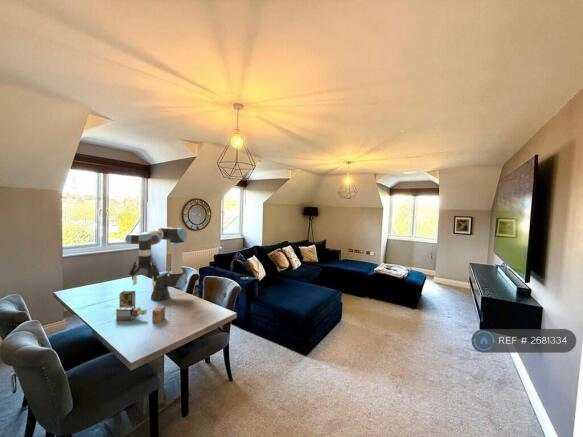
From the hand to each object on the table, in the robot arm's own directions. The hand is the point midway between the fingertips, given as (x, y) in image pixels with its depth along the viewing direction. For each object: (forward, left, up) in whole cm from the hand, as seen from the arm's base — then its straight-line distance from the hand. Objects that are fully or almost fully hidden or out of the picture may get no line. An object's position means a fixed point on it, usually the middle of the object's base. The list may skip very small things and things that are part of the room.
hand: (144, 285), depth 171 cm
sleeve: (-6, -16, -28) cm, 33 cm away
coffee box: (-17, -22, -28) cm, 40 cm away
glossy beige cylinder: (-6, -11, -25) cm, 28 cm away
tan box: (-6, +7, -28) cm, 29 cm away
